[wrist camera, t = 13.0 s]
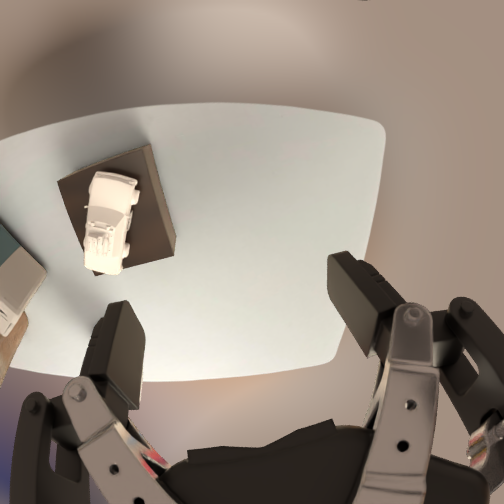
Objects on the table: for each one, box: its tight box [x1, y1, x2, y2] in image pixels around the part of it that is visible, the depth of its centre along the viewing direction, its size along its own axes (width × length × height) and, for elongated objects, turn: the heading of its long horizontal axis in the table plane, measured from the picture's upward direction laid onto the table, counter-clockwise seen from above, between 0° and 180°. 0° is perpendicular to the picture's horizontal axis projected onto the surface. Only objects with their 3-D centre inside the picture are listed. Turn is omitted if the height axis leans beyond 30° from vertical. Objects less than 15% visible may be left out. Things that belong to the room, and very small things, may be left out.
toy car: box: [83, 171, 140, 275], centre depth 27 cm, size 6×12×7 cm, turn 160°
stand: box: [57, 144, 176, 276], centre depth 32 cm, size 14×12×6 cm
